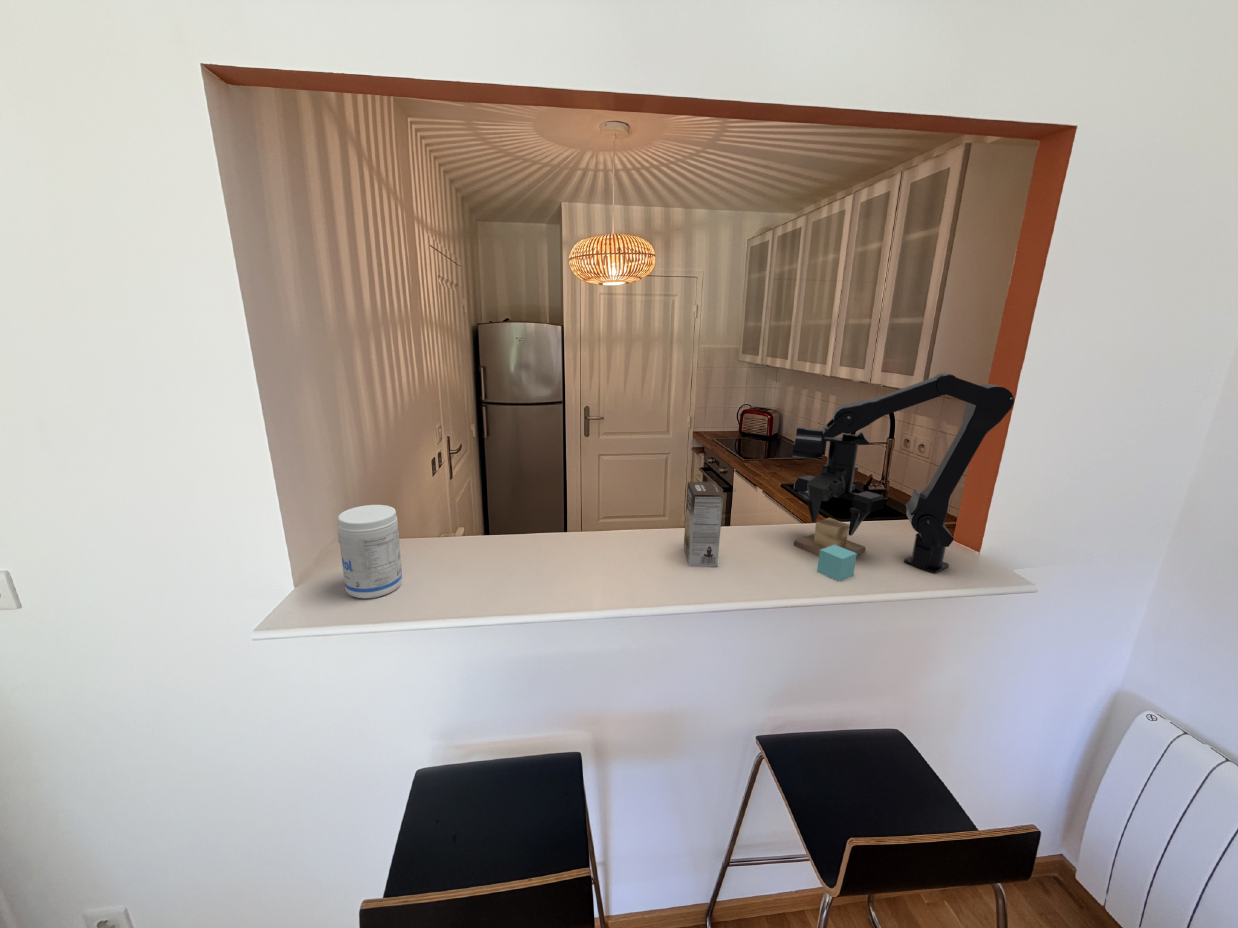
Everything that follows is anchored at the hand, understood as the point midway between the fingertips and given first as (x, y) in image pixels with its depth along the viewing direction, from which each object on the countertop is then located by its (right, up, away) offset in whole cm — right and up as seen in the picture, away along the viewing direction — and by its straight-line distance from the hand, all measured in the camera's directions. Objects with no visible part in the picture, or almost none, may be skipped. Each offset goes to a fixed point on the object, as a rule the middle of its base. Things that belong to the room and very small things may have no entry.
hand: (831, 528), depth 111 cm
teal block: (-4, -8, -11) cm, 14 cm away
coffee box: (-31, -6, -5) cm, 32 cm away
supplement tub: (-94, -8, -21) cm, 96 cm away
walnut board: (0, -6, +1) cm, 6 cm away
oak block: (0, -4, +1) cm, 4 cm away
